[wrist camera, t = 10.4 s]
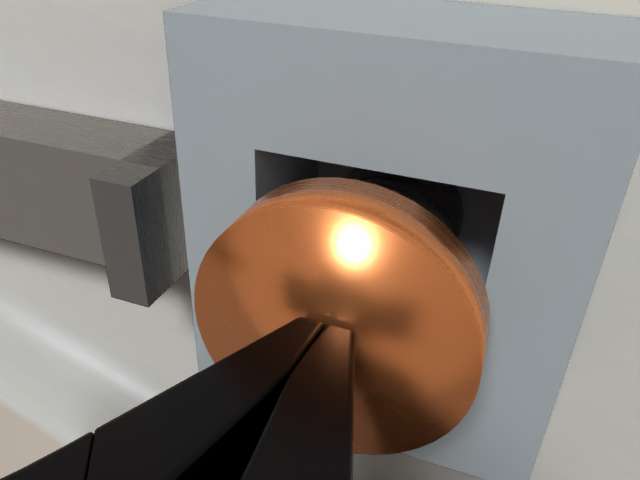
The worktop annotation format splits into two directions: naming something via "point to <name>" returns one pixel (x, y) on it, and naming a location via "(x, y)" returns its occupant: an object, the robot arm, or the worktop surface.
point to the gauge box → (428, 157)
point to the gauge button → (360, 294)
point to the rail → (94, 195)
